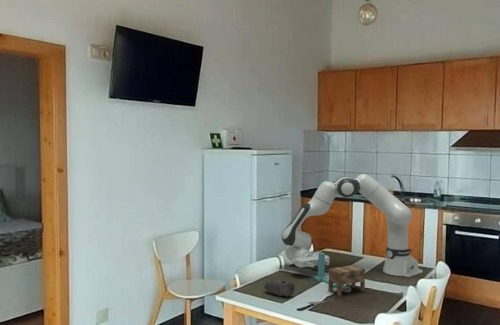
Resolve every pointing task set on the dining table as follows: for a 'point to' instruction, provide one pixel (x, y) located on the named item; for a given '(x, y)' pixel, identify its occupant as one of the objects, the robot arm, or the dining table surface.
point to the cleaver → (309, 305)
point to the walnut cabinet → (346, 277)
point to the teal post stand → (321, 270)
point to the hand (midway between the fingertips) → (320, 264)
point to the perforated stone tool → (280, 288)
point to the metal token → (346, 289)
